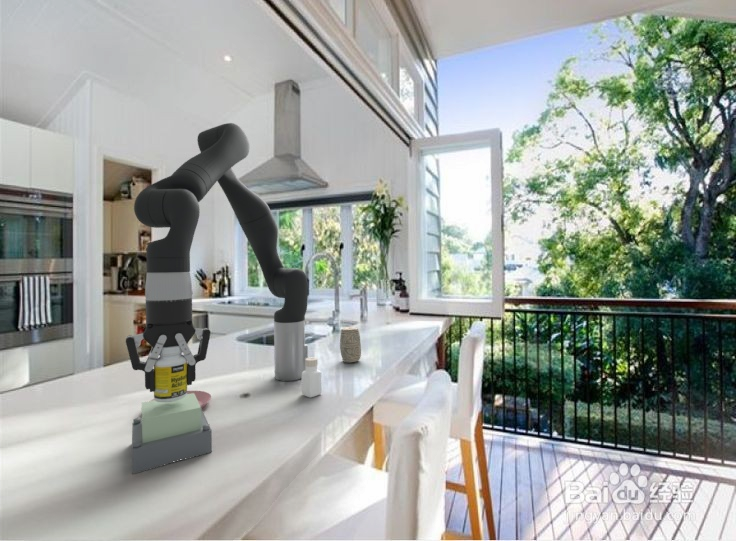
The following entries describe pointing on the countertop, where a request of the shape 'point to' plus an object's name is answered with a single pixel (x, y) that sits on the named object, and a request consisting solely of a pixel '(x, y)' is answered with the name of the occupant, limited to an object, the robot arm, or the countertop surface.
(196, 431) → the sponge in grey tray
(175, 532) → the countertop surface
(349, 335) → the carving
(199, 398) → the plate
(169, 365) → the supplement bottle
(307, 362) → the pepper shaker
